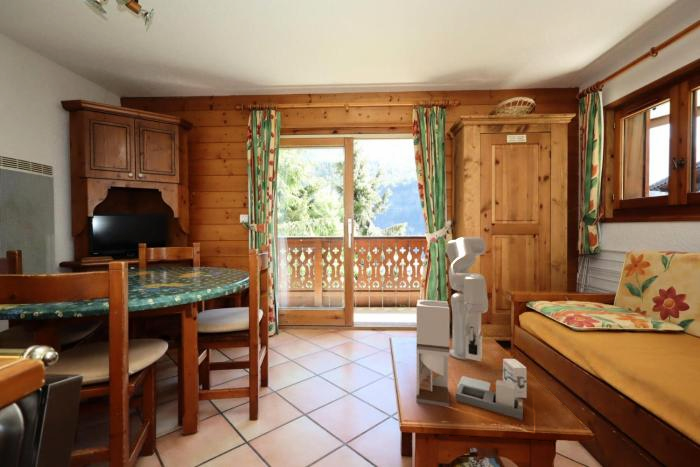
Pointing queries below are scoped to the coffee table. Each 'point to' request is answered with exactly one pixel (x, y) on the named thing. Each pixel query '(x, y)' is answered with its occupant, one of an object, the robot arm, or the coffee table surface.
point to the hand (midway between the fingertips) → (473, 351)
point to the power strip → (488, 401)
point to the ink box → (516, 376)
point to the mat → (474, 383)
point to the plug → (479, 349)
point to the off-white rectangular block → (505, 393)
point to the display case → (432, 352)
